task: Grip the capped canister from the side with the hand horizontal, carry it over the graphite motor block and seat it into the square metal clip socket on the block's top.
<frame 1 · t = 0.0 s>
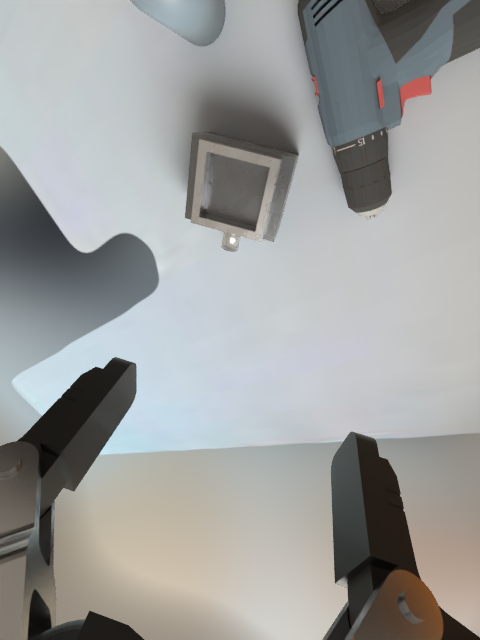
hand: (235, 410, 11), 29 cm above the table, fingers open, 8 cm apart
motor block: (245, 183, 34), on the table
capped canister: (200, 12, 27), on the table
power drill: (435, 81, 27), on the table
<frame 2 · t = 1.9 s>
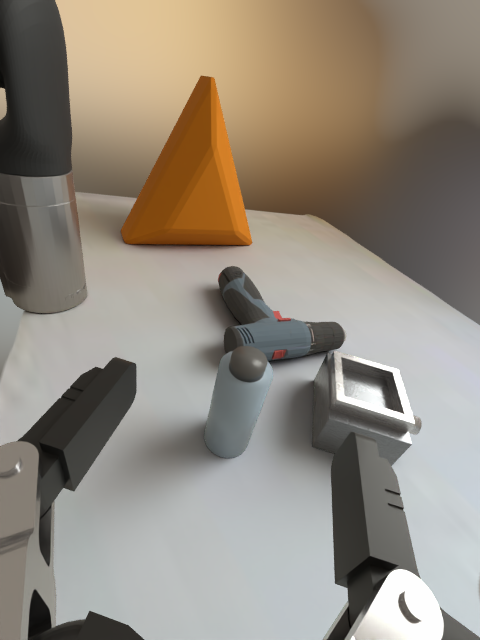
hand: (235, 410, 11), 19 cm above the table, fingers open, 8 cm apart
motor block: (346, 419, 36), on the table
capped canister: (226, 436, 31), on the table
power drill: (266, 323, 49), on the table
decorative object: (190, 240, 70), on the table
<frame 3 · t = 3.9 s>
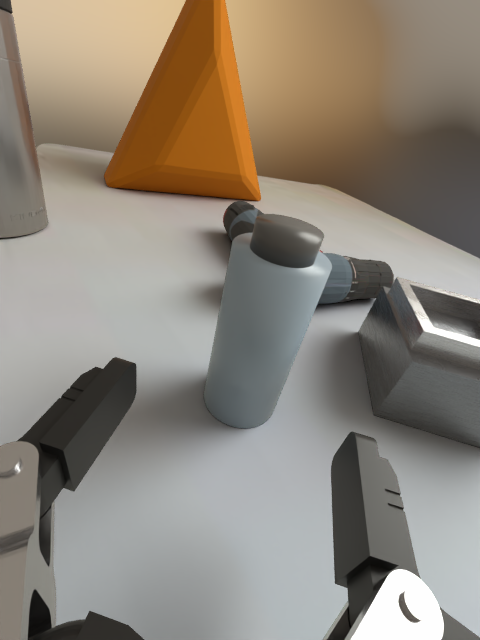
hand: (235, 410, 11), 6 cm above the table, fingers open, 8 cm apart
motor block: (414, 381, 24), on the table
capped canister: (239, 396, 19), on the table
power drill: (285, 270, 38), on the table
decorative object: (188, 192, 59), on the table
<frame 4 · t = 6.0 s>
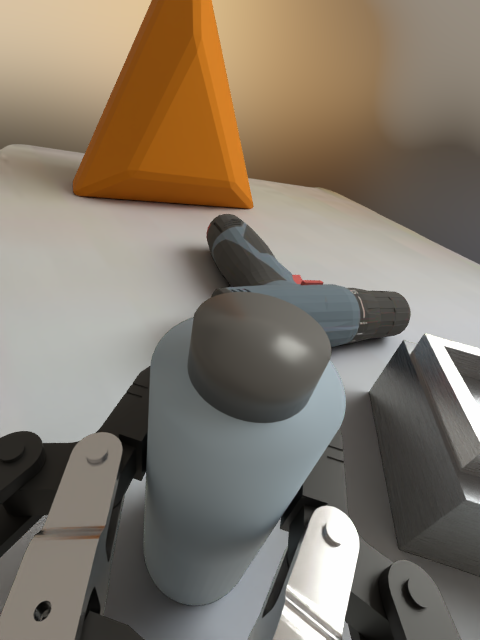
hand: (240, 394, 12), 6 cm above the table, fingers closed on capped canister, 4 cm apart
motor block: (447, 473, 18), on the table
capped canister: (199, 532, 13), on the table, touching gripper
power drill: (279, 298, 32), on the table
decorative object: (170, 199, 52), on the table
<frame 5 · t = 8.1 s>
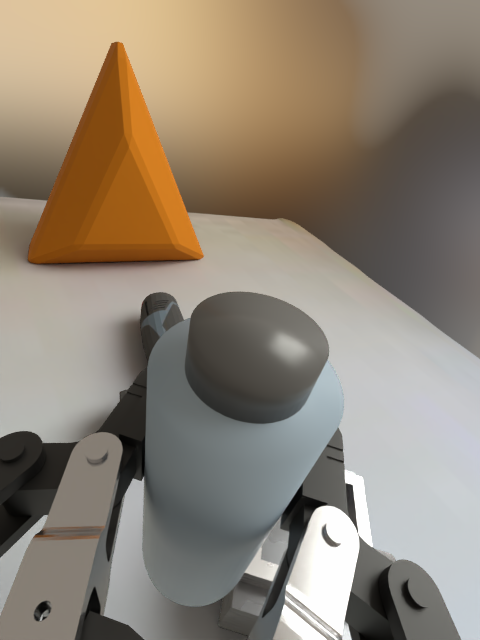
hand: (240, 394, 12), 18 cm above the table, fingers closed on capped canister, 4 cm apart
motor block: (284, 552, 23), on the table
capped canister: (198, 533, 13), point 12 cm above the table, touching gripper
power drill: (199, 370, 37), on the table
decorative object: (124, 255, 57), on the table
when the fingers open (12 cm above the table, at t = 10.3 s): capped canister drops 1 cm, resting on motor block.
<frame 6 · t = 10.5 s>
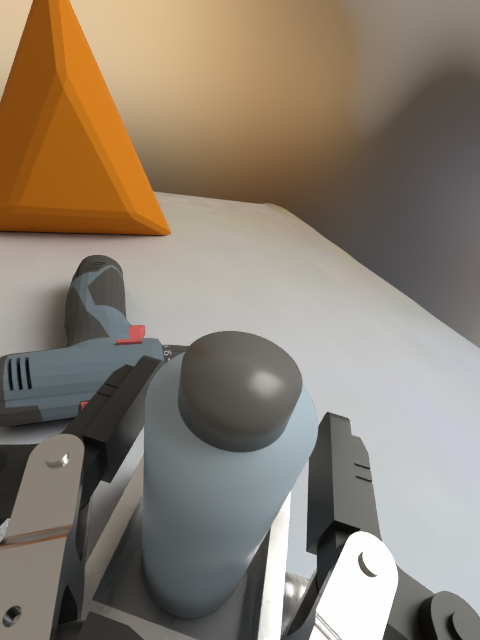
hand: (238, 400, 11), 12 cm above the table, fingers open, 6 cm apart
motor block: (186, 579, 17), on the table
capped canister: (195, 548, 14), point 5 cm above the table, touching motor block
power drill: (136, 344, 31), on the table
decorative object: (79, 227, 51), on the table
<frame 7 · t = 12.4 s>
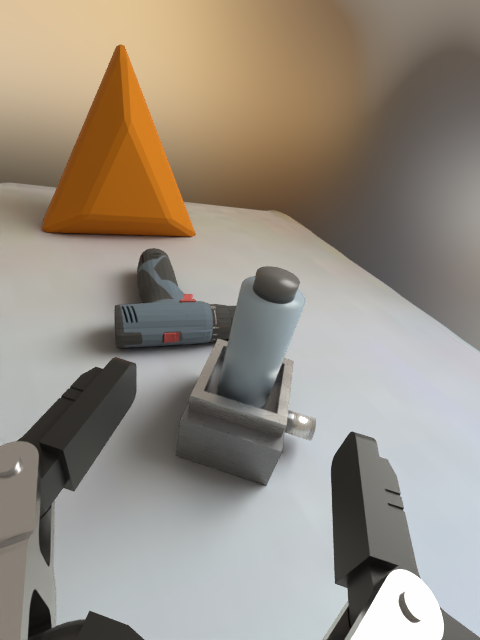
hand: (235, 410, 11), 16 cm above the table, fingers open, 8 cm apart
motor block: (234, 422, 29), on the table
capped canister: (243, 388, 27), point 5 cm above the table, touching motor block
power drill: (184, 309, 45), on the table
decorative object: (125, 230, 65), on the table
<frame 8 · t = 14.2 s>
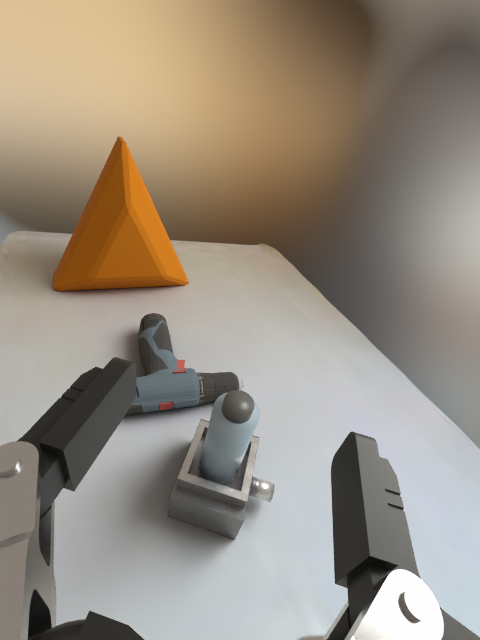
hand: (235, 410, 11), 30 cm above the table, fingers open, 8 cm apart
motor block: (213, 484, 38), on the table
capped canister: (219, 464, 35), point 5 cm above the table, touching motor block
power drill: (178, 369, 53), on the table
decorative object: (125, 282, 73), on the table
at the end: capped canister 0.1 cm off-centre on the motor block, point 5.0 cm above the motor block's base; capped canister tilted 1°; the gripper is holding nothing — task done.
